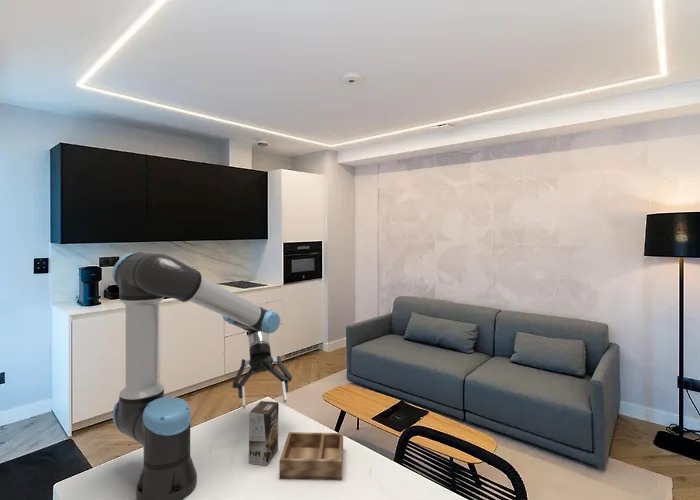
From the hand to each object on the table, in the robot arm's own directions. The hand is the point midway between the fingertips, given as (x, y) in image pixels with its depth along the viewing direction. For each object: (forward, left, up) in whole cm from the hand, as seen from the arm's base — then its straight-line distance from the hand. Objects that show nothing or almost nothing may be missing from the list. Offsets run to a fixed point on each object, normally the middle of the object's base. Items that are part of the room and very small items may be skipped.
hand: (265, 404), depth 128 cm
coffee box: (+1, -7, -14) cm, 16 cm away
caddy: (+17, -10, -14) cm, 24 cm away
